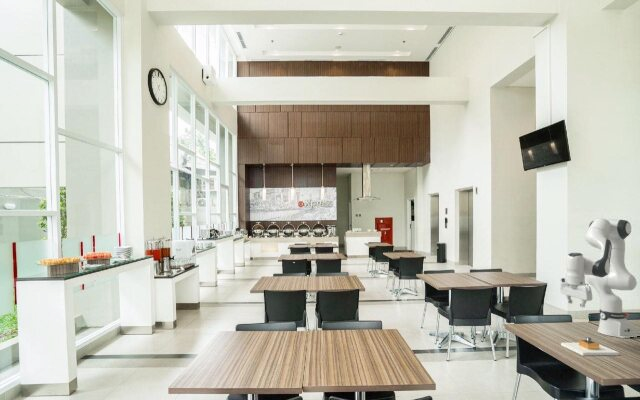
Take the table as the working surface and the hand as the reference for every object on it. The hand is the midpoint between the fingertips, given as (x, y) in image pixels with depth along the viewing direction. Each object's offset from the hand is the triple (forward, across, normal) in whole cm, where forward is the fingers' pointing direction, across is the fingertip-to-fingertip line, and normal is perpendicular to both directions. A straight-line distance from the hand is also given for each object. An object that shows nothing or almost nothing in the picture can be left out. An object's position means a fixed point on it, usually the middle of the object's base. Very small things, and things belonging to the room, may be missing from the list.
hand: (576, 305), depth 222 cm
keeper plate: (+21, -14, +4) cm, 25 cm away
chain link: (+19, -14, +4) cm, 24 cm away
